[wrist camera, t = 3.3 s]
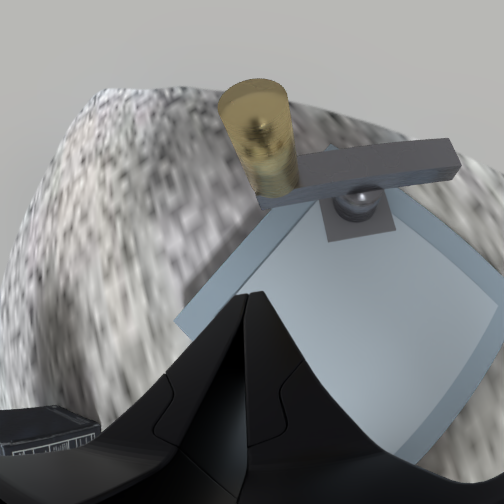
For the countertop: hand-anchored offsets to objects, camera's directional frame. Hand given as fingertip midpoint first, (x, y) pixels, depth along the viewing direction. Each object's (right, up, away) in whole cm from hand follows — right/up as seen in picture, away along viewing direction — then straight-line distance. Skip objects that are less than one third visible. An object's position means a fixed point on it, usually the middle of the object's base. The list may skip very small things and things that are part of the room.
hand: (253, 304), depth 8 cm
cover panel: (+7, -3, +10) cm, 12 cm away
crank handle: (+6, +5, +9) cm, 12 cm away
